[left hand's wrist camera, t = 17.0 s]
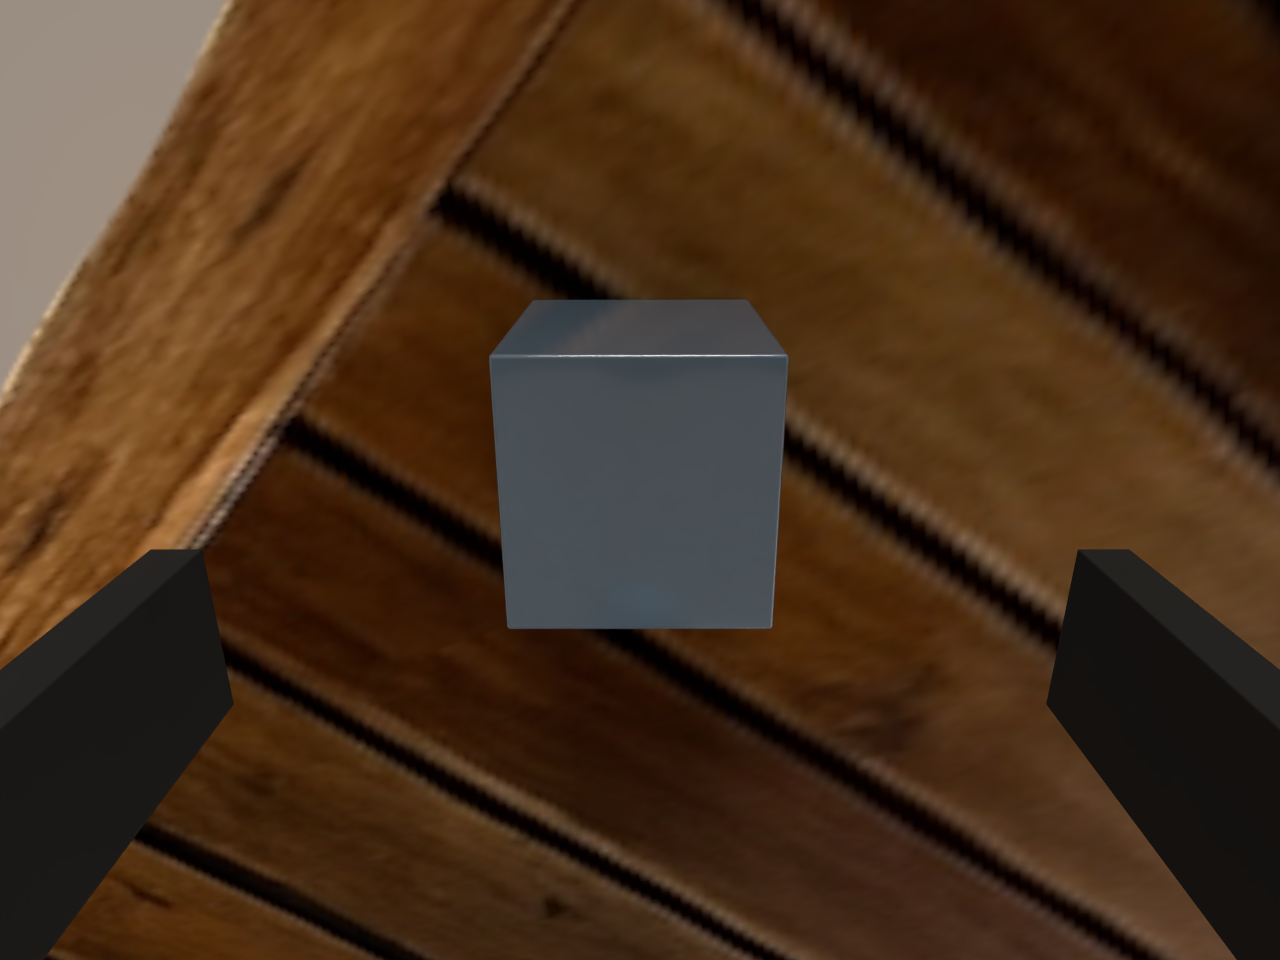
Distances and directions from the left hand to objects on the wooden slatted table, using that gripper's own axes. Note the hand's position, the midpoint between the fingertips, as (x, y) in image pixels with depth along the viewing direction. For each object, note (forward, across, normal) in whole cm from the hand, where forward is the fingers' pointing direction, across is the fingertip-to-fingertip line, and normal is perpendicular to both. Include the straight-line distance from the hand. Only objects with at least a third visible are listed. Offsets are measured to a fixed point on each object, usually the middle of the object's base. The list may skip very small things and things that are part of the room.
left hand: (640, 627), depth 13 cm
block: (+13, 0, 0) cm, 13 cm away
